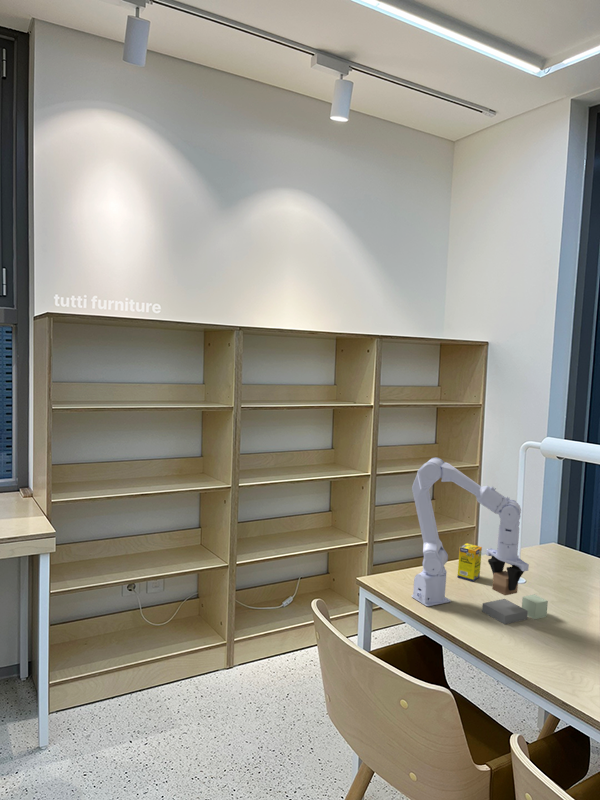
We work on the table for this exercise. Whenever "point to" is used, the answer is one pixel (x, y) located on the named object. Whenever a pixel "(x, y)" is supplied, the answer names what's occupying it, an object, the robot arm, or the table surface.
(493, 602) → the charcoal base block
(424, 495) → the robot arm
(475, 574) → the supplement box
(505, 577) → the walnut cube
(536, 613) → the sage green cube
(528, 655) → the table surface
